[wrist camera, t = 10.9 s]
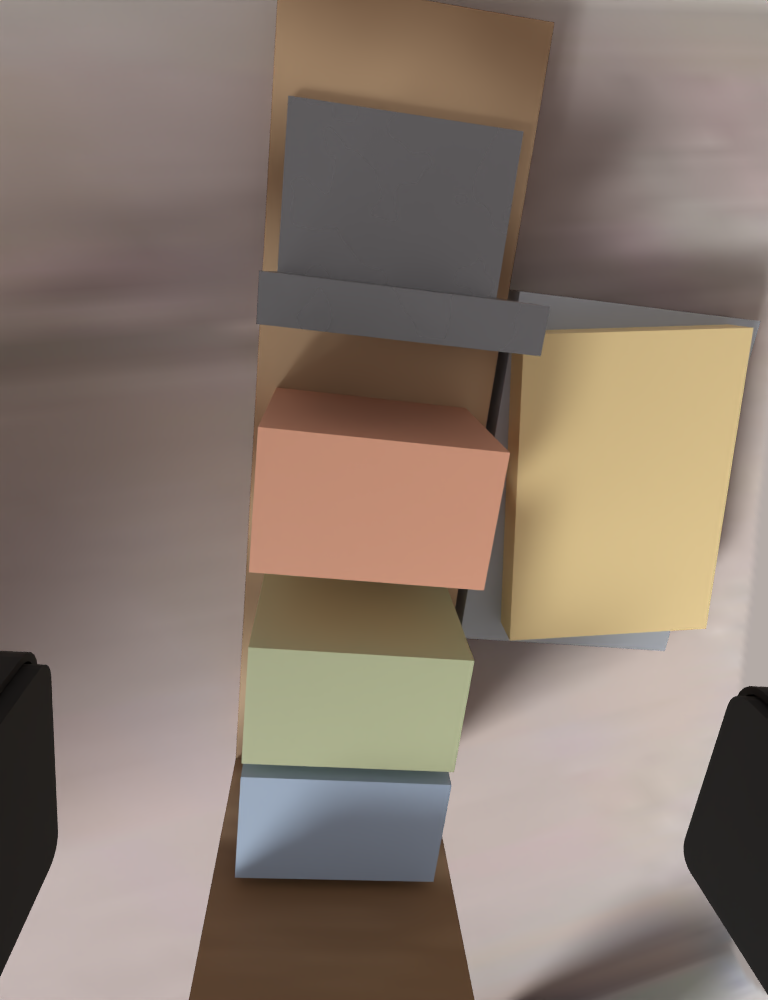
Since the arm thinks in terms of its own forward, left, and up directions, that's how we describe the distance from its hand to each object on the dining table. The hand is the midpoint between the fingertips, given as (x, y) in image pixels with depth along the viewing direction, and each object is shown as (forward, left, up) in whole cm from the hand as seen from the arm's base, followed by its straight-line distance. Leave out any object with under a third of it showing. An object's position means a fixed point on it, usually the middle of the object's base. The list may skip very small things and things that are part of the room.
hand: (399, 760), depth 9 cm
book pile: (0, -9, -17) cm, 19 cm away
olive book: (-6, 0, -15) cm, 16 cm away
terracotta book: (0, 0, -15) cm, 15 cm away
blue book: (-10, 0, -15) cm, 18 cm away
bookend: (+8, 0, -15) cm, 17 cm away
